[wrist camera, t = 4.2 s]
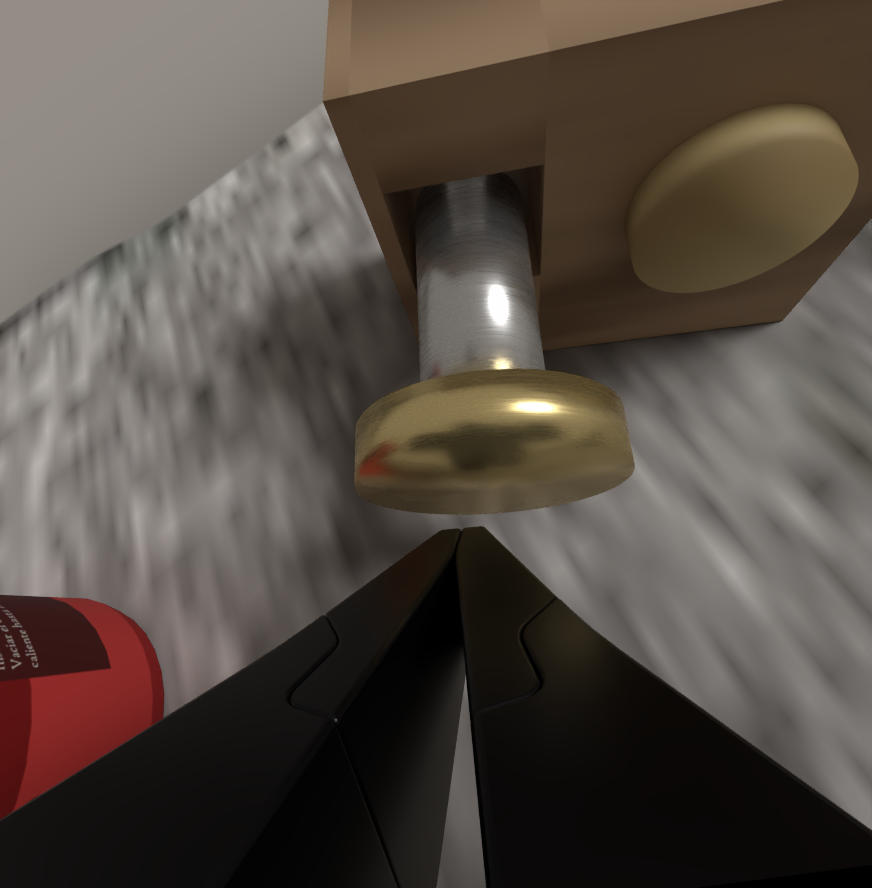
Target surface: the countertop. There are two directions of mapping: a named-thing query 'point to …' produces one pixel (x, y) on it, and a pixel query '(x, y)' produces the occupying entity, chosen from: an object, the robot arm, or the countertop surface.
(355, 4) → the mount
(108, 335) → the countertop surface
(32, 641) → the canned food
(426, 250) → the knob
